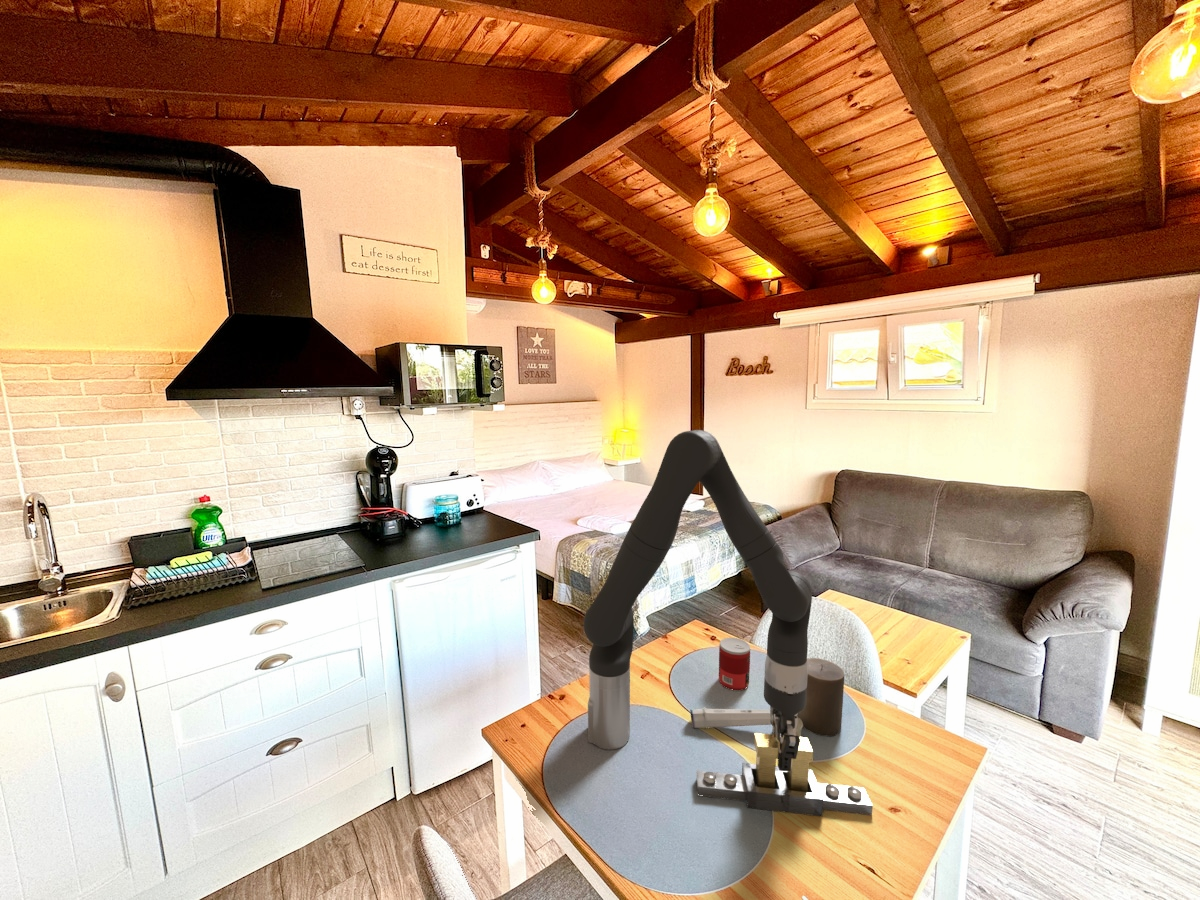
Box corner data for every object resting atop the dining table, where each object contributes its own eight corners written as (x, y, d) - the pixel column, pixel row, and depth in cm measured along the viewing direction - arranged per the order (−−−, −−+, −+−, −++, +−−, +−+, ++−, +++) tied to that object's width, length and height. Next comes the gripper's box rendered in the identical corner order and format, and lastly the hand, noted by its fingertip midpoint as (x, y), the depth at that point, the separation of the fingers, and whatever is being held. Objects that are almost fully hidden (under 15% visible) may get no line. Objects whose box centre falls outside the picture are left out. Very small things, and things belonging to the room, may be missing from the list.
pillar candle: (836, 743, 106) (840, 680, 104) (791, 724, 112) (794, 665, 110) (844, 719, 114) (849, 661, 112) (802, 703, 120) (805, 647, 118)
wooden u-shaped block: (755, 794, 91) (757, 746, 90) (752, 779, 95) (754, 732, 93) (810, 800, 90) (813, 751, 88) (804, 785, 93) (807, 737, 92)
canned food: (752, 691, 124) (754, 652, 123) (722, 691, 124) (723, 652, 123) (744, 674, 132) (745, 637, 131) (715, 674, 132) (716, 637, 131)
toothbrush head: (689, 703, 114) (797, 697, 111) (692, 728, 115) (799, 724, 111) (690, 717, 109) (803, 712, 106) (694, 744, 110) (806, 740, 106)
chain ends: (698, 802, 91) (698, 786, 91) (696, 773, 98) (696, 758, 98) (875, 822, 87) (876, 805, 86) (860, 790, 94) (861, 774, 93)
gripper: (757, 656, 97) (754, 733, 99) (773, 701, 83) (769, 789, 85) (796, 658, 96) (792, 736, 98) (818, 704, 82) (813, 794, 84)
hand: (781, 760), depth 91 cm, fingers closed on wooden u-shaped block, 3 cm apart
